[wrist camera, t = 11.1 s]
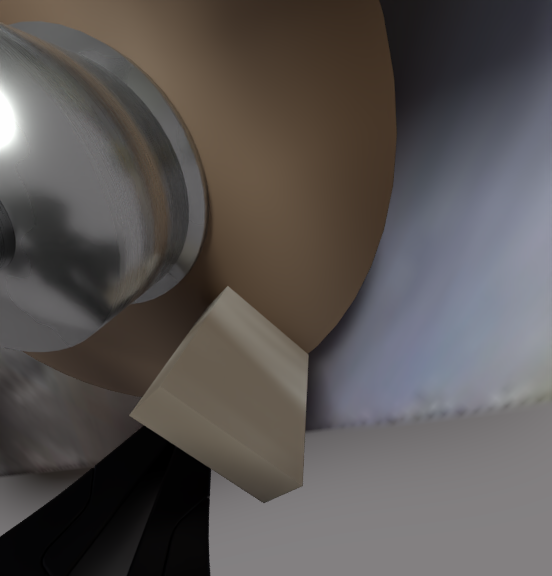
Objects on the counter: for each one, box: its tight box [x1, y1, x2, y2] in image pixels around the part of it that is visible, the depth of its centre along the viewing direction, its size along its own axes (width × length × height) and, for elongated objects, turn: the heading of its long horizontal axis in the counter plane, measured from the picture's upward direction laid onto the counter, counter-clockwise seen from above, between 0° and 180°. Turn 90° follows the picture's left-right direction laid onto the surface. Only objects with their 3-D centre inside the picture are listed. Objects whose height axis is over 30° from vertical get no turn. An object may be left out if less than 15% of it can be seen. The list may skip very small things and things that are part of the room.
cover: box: [0, 21, 209, 352], centre depth 6 cm, size 7×7×4 cm
